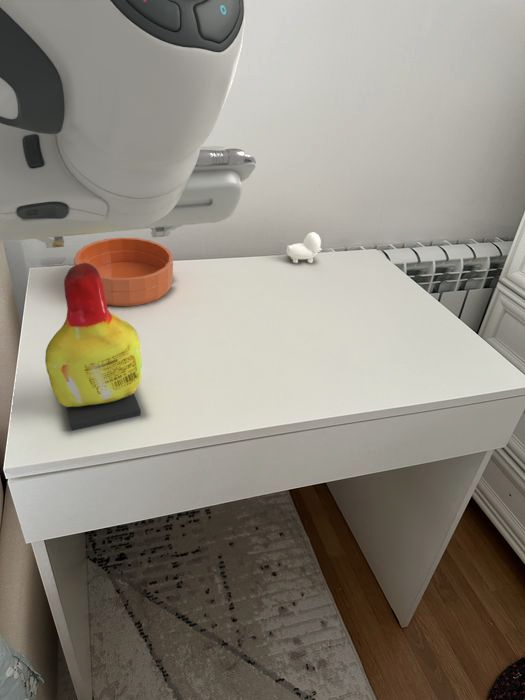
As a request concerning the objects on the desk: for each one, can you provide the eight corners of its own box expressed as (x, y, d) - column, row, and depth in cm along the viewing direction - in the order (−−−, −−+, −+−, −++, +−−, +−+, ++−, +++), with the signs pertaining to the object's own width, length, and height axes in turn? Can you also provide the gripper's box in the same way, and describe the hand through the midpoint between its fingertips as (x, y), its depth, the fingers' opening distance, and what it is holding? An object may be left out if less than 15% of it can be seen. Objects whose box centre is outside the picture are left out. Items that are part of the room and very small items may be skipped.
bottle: (56, 422, 68) (31, 284, 57) (49, 392, 73) (24, 258, 61) (148, 401, 73) (142, 270, 62) (136, 374, 78) (128, 247, 66)
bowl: (87, 313, 91) (83, 285, 88) (71, 268, 104) (67, 242, 101) (184, 299, 98) (184, 272, 95) (158, 258, 111) (157, 233, 107)
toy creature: (323, 264, 115) (327, 237, 111) (287, 265, 113) (291, 237, 110) (316, 255, 119) (321, 228, 115) (282, 255, 117) (285, 228, 113)
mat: (71, 430, 69) (70, 425, 68) (61, 388, 75) (60, 383, 75) (140, 415, 72) (140, 409, 72) (125, 376, 79) (125, 370, 78)
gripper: (253, 112, 41) (206, 194, 53) (-50, 115, 33) (-20, 210, 45) (273, 190, 40) (221, 254, 53) (-32, 212, 32) (-7, 281, 45)
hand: (107, 234), depth 49 cm, fingers open, 8 cm apart
